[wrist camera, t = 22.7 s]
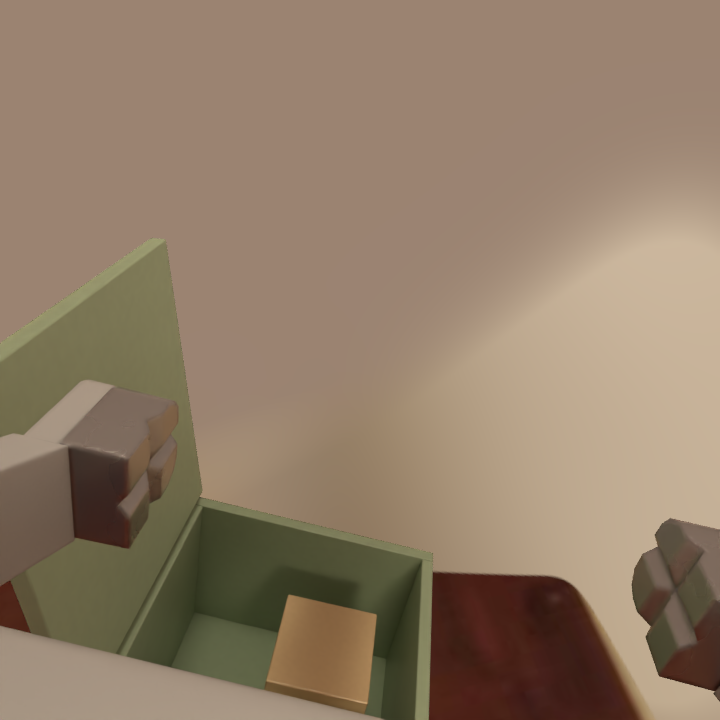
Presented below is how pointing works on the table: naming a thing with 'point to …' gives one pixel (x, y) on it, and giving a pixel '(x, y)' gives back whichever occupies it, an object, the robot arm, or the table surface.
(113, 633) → the box lid
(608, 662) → the table surface
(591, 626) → the table surface
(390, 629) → the box
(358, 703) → the block
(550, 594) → the table surface
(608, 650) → the table surface
